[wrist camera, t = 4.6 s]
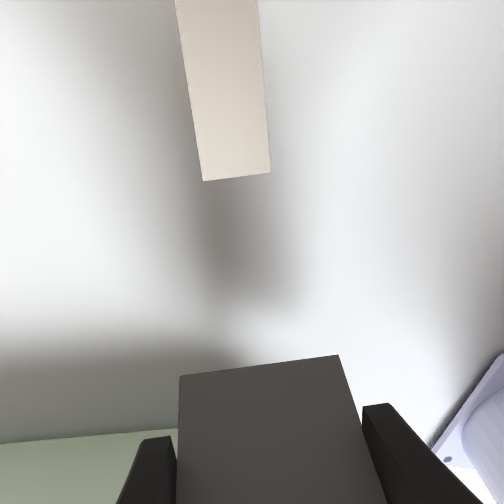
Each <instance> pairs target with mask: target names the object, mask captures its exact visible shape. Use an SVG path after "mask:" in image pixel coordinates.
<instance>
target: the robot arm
mask: <svg viewBox="0 0 504 504" xmlns="http://www.w3.org/2000/svg"><path fill="white" fill-rule="evenodd" d="M362 432H363V435H364V438H365V440H366V443H367V446H368V449H369V452H370V455H371V458H372V461H373V464H374V467H375V470H376V473H377V475H378V477H379V480H380V482H381V485H382V488H383V491H384V494H385V497H386V500H387V503H388V504H483V503H482V502H481V501H480V500H479V499H478V498H477V497H476V496H475V495H474V494H473V493H472V492H471V491H470V490H469V489H468V488H467V487H466V486H465V485H464V484H463V483H462V482H461V481H460V480H459V479H458V478H457V477H456V476H455V475H454V474H453V473H452V472H451V471H450V470H449V469H448V468H447V467H446V466H445V465H450V466H457V467H463V468H470V469H476V471H477V473H478V474H479V476H480V477H481V479H482V481H483V482H484V484H485V485H486V487H487V489H488V490H489V492H490V493H491V495H492V497H493V498H494V500H495V501H496V503H497V504H504V353H502V354H501V355H499V356H498V357H497V358H496V360H495V361H494V363H493V364H492V365H491V367H490V368H489V370H488V371H487V372H486V374H485V375H484V377H483V378H482V379H481V381H480V382H479V384H478V385H477V386H476V388H475V389H474V391H473V392H472V393H471V395H470V396H469V398H468V399H467V400H466V402H465V403H464V405H463V406H462V407H461V409H460V410H459V412H458V413H457V414H456V416H455V417H454V419H453V420H452V421H451V423H450V424H449V426H448V427H447V428H446V430H445V431H444V433H443V434H442V435H441V437H440V438H439V440H438V441H437V442H436V444H435V445H434V447H433V448H432V449H430V448H429V447H428V446H427V445H426V444H425V443H424V442H423V441H422V440H421V439H420V437H419V436H418V435H417V434H416V433H415V432H414V431H413V430H412V428H411V427H410V426H409V425H408V424H407V423H406V421H405V420H404V419H403V418H402V417H401V416H400V415H399V413H398V412H397V411H396V410H395V409H394V407H393V406H392V405H390V404H389V403H383V404H376V405H370V406H363V410H362ZM176 479H177V458H176V455H175V451H174V447H173V443H172V439H171V435H169V436H163V437H156V438H149V439H144V440H143V441H142V442H141V443H140V445H139V448H138V450H137V453H136V456H135V459H134V461H133V464H132V466H131V469H130V471H129V474H128V476H127V479H126V481H125V483H124V486H123V488H122V490H121V493H120V495H119V497H118V499H117V502H116V504H176Z"/></svg>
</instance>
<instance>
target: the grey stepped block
mask: <svg viewBox="0 0 504 504" xmlns="http://www.w3.org/2000/svg"><path fill="white" fill-rule="evenodd" d="M176 504H388V503H387V500H386V497H385V494H384V491H383V488H382V485H381V482H380V480H379V477H378V475H377V473H376V470H375V467H374V464H373V461H372V458H371V455H370V452H369V449H368V446H367V443H366V440H365V438H364V435H363V432H362V425H361V422H360V419H359V416H358V413H357V410H356V407H355V404H354V401H353V398H352V395H351V392H350V389H349V386H348V383H347V380H346V377H345V373H344V370H343V367H342V364H341V361H340V358H339V355H332V356H324V357H317V358H309V359H302V360H295V361H287V362H280V363H272V364H265V365H257V366H250V367H243V368H235V369H228V370H220V371H213V372H205V373H198V374H191V375H183V376H180V383H179V415H178V447H177V479H176Z"/></svg>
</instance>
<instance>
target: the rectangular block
mask: <svg viewBox="0 0 504 504" xmlns="http://www.w3.org/2000/svg"><path fill="white" fill-rule="evenodd" d="M174 3H175V9H176V15H177V21H178V28H179V34H180V40H181V47H182V53H183V59H184V66H185V72H186V78H187V84H188V91H189V97H190V103H191V110H192V116H193V122H194V128H195V135H196V141H197V147H198V154H199V160H200V166H201V172H202V179H203V181H210V180H217V179H225V178H233V177H241V176H249V175H256V174H264V173H271V164H270V152H269V140H268V127H267V115H266V103H265V90H264V78H263V66H262V54H261V41H260V29H259V17H258V4H257V0H174Z"/></svg>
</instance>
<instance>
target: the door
mask: <svg viewBox="0 0 504 504" xmlns="http://www.w3.org/2000/svg"><path fill="white" fill-rule="evenodd" d="M169 435H171V439H172V443H173V447H174V451H175V455H176V458H177V447H178V428H171V429H160V430H149V431H138V432H127V433H116V434H105V435H94V436H83V437H72V438H61V439H50V440H39V441H28V442H17V443H6V444H0V504H116V502H117V499H118V497H119V495H120V493H121V490H122V488H123V486H124V483H125V481H126V479H127V476H128V474H129V471H130V469H131V466H132V464H133V461H134V459H135V456H136V453H137V450H138V448H139V445H140V443H141V442H142V441H143V440H144V439H149V438H156V437H163V436H169Z"/></svg>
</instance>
